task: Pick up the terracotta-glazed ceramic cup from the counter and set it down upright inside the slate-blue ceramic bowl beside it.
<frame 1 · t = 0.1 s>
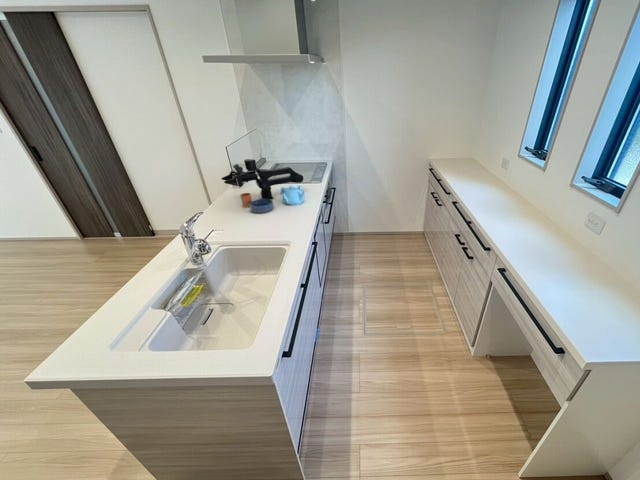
hand: (222, 180, 197), 17 cm above the countertop, tool horizontal, fingers open, 9 cm apart
bowl: (262, 209, 198), on the countertop
cup: (248, 205, 205), on the countertop
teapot: (294, 202, 209), on the countertop
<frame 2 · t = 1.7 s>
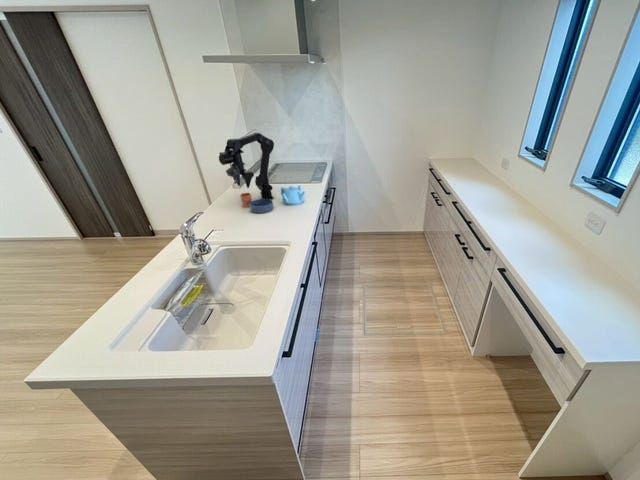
hand: (243, 186, 198), 13 cm above the countertop, tool pointing down, fingers open, 9 cm apart
nothing on the countertop moved.
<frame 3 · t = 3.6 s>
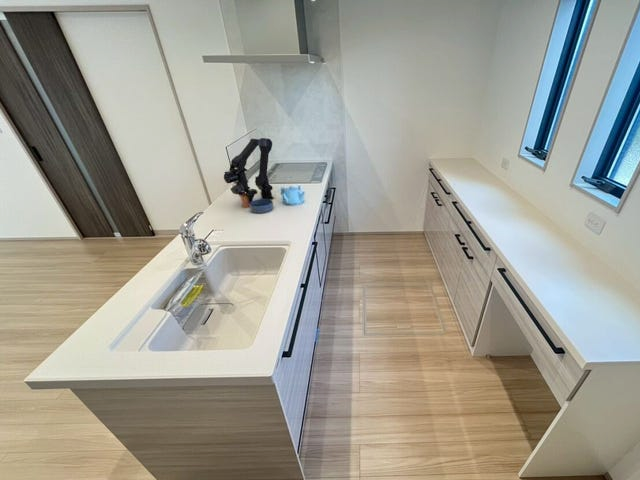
hand: (247, 203, 204), 2 cm above the countertop, tool pointing down, fingers closed on cup, 6 cm apart
cup: (248, 205, 205), on the countertop, touching gripper
everything else where it was.
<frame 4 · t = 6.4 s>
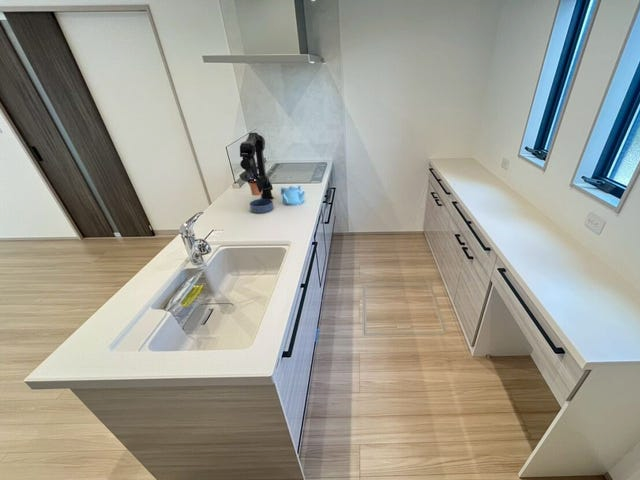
hand: (256, 191, 193), 12 cm above the countertop, tool pointing down, fingers closed on cup, 6 cm apart
cup: (257, 193, 193), point 10 cm above the countertop, touching gripper
everything else where it was.
when the fingers open (2 cm above the countertop, at t = 9.2 s): cup stays where it is, resting on bowl.
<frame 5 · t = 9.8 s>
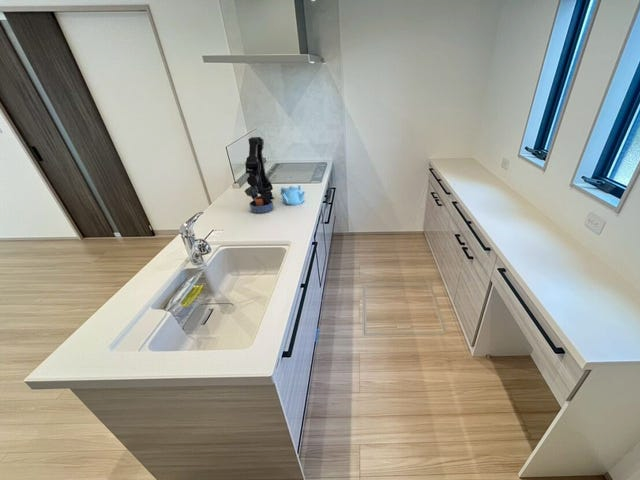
hand: (261, 205, 197), 3 cm above the countertop, tool pointing down, fingers open, 9 cm apart
cup: (262, 208, 198), point 1 cm above the countertop, touching bowl
everything else where it was.
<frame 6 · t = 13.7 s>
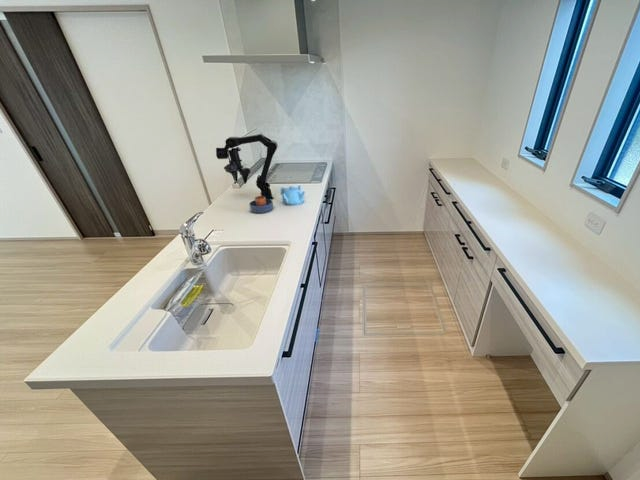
hand: (240, 182, 208), 12 cm above the countertop, tool pointing down, fingers open, 9 cm apart
nothing on the countertop moved.
at the end: cup 0.0 cm off-centre in the bowl, point 0.6 cm above the bowl's base; cup tilted 0°; the gripper is holding nothing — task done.
